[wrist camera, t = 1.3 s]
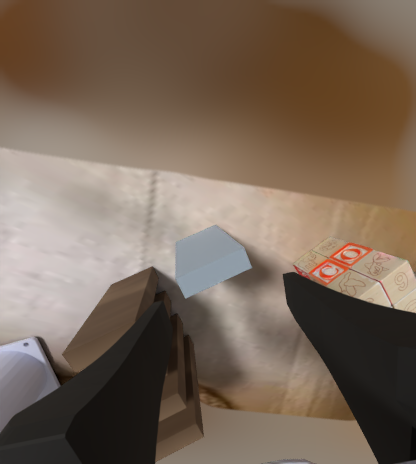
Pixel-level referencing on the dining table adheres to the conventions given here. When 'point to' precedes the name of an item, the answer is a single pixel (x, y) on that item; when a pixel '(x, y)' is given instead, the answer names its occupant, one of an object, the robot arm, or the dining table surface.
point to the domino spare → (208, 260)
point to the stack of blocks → (361, 273)
